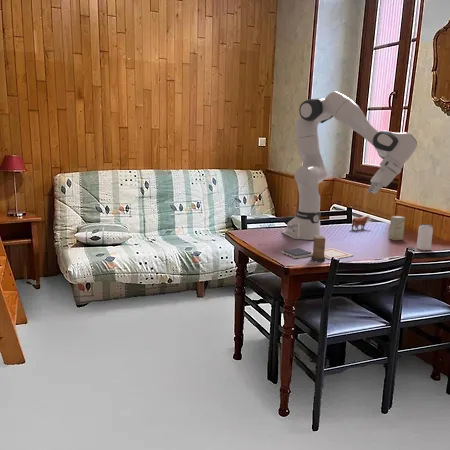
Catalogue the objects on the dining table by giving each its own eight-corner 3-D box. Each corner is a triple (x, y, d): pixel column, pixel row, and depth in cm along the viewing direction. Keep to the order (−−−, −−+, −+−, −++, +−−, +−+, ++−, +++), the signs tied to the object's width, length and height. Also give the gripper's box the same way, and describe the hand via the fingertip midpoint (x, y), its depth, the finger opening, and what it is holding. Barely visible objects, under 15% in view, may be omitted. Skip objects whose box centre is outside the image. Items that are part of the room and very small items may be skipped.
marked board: (310, 252, 222) (310, 251, 222) (332, 248, 230) (332, 247, 229) (331, 260, 211) (331, 259, 211) (353, 256, 218) (353, 255, 218)
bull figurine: (371, 229, 273) (373, 215, 272) (354, 231, 268) (355, 217, 266) (366, 227, 277) (367, 214, 275) (348, 229, 271) (349, 215, 270)
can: (416, 249, 231) (419, 226, 228) (416, 246, 237) (419, 223, 234) (430, 251, 229) (433, 227, 226) (430, 248, 235) (433, 224, 232)
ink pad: (281, 253, 220) (281, 250, 220) (298, 250, 225) (298, 247, 225) (295, 259, 211) (295, 255, 211) (313, 256, 217) (313, 252, 216)
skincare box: (394, 240, 248) (396, 218, 246) (388, 238, 252) (390, 216, 250) (403, 239, 251) (405, 217, 248) (397, 237, 255) (399, 215, 252)
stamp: (310, 257, 214) (312, 235, 212) (324, 258, 213) (325, 235, 211) (312, 261, 208) (313, 238, 206) (325, 262, 208) (327, 239, 205)
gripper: (378, 163, 220) (360, 187, 222) (390, 162, 200) (370, 189, 202) (389, 170, 220) (371, 195, 222) (402, 171, 200) (382, 198, 202)
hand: (371, 192), depth 212 cm, fingers open, 8 cm apart
